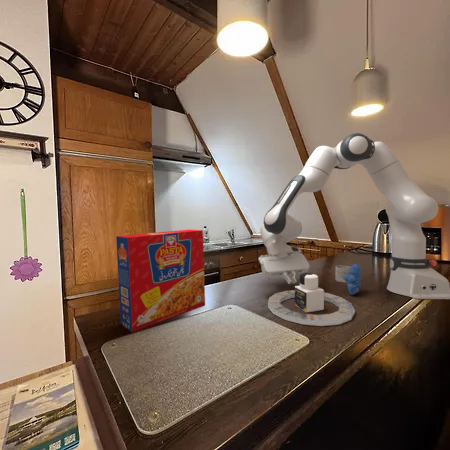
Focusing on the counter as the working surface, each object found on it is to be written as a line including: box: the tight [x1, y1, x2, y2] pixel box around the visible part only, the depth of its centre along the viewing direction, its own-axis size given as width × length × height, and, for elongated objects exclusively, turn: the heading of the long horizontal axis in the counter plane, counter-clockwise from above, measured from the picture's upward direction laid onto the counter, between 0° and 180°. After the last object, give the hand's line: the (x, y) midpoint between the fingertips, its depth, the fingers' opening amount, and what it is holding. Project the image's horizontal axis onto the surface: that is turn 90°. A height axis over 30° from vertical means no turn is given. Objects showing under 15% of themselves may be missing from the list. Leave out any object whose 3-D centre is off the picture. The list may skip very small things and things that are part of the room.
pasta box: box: [115, 229, 206, 333], centre depth 85 cm, size 28×8×28 cm, turn 135°
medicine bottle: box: [294, 272, 325, 313], centre depth 88 cm, size 7×7×12 cm
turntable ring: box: [267, 289, 356, 327], centre depth 88 cm, size 28×28×2 cm
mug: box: [334, 264, 351, 284], centre depth 121 cm, size 10×7×7 cm
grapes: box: [343, 263, 363, 296], centre depth 102 cm, size 12×7×12 cm, turn 137°
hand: (292, 283), depth 97 cm, fingers closed
